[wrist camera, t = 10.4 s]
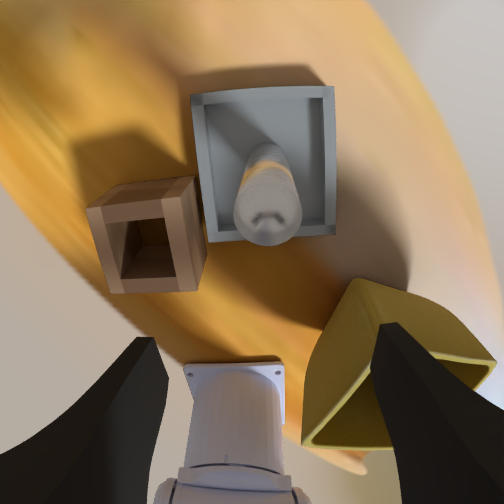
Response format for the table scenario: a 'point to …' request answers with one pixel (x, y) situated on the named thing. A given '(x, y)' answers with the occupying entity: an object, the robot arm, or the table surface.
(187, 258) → the walnut block
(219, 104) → the tray
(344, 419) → the flower pot
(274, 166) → the cylinder
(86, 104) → the table surface
